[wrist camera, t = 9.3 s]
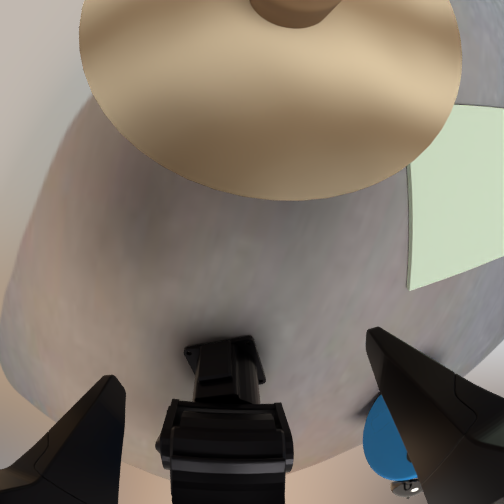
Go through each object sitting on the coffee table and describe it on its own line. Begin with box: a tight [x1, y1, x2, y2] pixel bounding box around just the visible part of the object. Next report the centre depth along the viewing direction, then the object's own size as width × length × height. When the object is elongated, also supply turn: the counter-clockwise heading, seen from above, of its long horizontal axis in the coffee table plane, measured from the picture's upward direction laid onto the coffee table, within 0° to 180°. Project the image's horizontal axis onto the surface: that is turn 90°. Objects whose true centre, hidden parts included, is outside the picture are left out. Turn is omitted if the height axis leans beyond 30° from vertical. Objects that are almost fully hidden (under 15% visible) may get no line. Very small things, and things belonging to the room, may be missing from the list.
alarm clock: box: [363, 395, 423, 499], centre depth 24 cm, size 13×6×15 cm, turn 151°
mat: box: [407, 105, 504, 291], centre depth 20 cm, size 16×16×1 cm
